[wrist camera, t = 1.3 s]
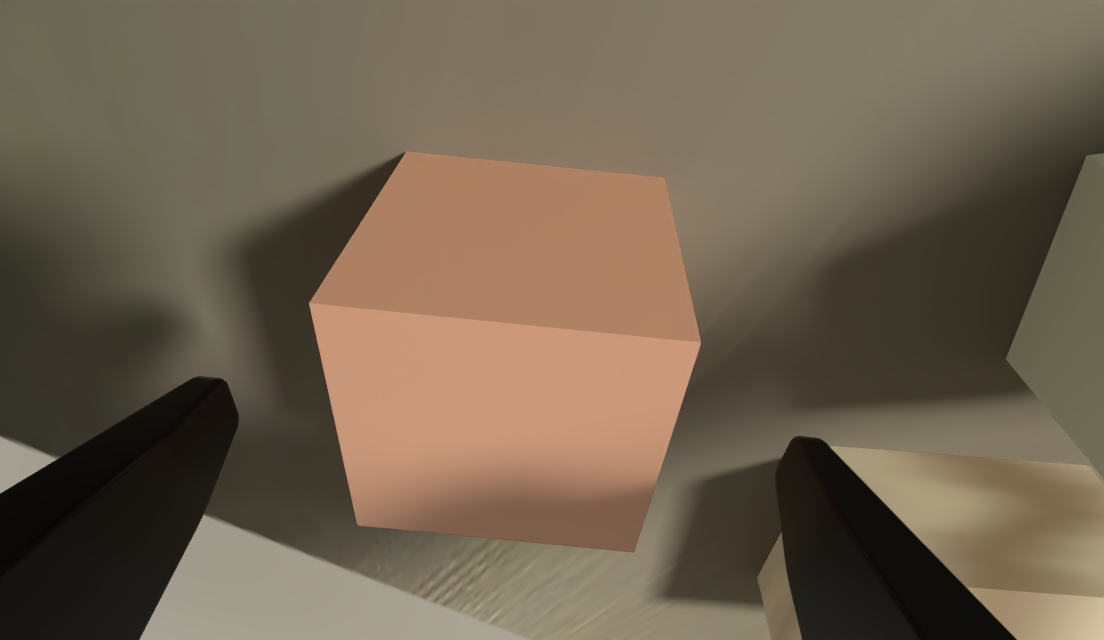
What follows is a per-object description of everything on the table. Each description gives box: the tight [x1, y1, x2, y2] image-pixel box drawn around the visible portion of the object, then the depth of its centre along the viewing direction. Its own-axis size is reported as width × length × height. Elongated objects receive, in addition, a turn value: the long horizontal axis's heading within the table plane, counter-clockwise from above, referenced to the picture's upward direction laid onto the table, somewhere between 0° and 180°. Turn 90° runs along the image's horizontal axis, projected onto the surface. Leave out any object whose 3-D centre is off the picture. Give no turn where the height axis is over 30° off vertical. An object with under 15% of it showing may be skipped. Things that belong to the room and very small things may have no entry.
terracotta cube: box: [309, 151, 701, 552], centre depth 11 cm, size 5×5×5 cm
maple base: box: [757, 446, 1104, 640], centre depth 17 cm, size 7×7×4 cm
